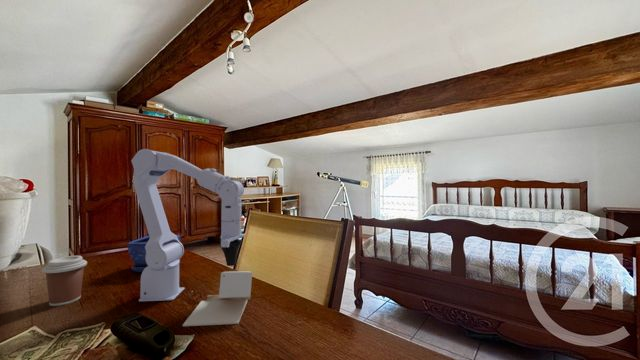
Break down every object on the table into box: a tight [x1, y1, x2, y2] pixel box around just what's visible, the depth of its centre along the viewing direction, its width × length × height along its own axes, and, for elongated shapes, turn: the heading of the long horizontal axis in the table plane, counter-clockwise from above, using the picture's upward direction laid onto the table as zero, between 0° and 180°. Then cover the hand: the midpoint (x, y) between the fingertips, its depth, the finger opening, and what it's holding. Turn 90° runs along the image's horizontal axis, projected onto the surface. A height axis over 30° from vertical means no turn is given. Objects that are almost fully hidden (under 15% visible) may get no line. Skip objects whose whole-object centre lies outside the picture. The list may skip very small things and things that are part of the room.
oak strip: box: [206, 294, 251, 301], centre depth 73 cm, size 12×1×2 cm, turn 96°
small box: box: [218, 270, 253, 298], centre depth 72 cm, size 8×6×13 cm
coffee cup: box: [41, 255, 88, 307], centre depth 73 cm, size 9×9×12 cm
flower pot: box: [127, 234, 181, 273], centre depth 100 cm, size 13×13×12 cm
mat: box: [182, 299, 249, 327], centre depth 67 cm, size 13×12×1 cm
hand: (231, 265), depth 76 cm, fingers closed
